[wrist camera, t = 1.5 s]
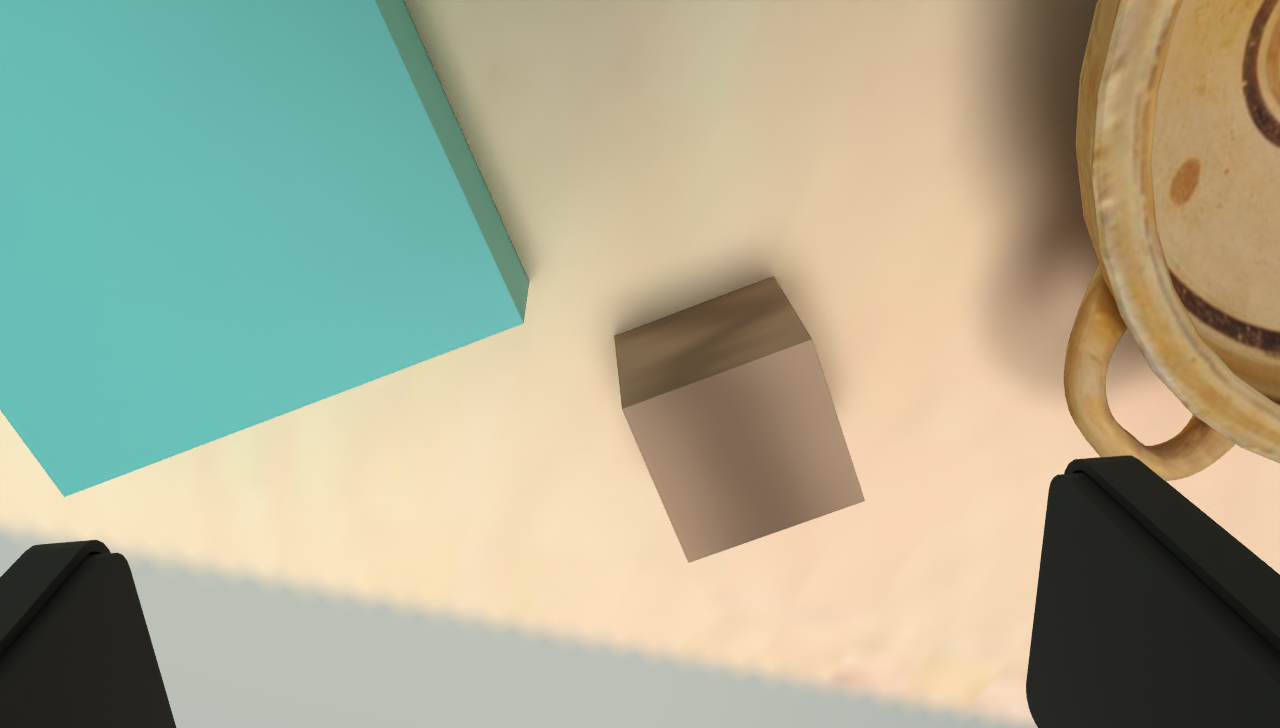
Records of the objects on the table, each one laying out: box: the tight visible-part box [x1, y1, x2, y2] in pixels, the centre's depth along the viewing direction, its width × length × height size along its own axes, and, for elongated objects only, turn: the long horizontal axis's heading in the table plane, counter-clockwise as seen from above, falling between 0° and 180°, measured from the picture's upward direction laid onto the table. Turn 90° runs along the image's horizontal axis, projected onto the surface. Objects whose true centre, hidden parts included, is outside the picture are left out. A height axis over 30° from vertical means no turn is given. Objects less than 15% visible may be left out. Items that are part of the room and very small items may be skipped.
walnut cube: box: [614, 276, 865, 563], centre depth 32 cm, size 6×6×6 cm
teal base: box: [0, 0, 529, 497], centre depth 29 cm, size 16×16×4 cm
